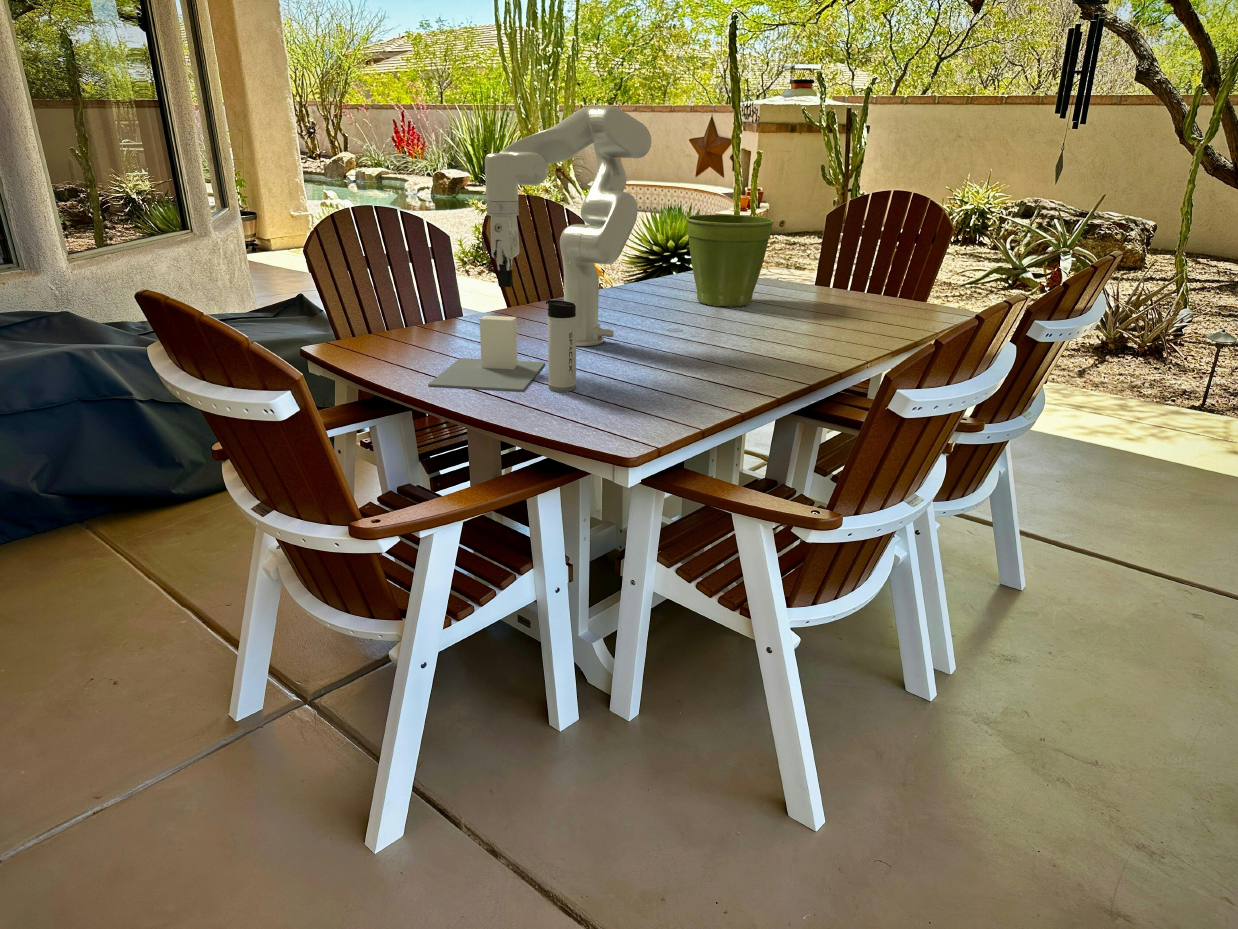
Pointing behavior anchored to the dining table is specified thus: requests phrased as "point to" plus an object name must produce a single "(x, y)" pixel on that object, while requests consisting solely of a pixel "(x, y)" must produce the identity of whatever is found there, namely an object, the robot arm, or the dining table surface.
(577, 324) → the robot arm
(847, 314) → the dining table surface
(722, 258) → the plant pot
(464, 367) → the mat
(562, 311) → the travel mug
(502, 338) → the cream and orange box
